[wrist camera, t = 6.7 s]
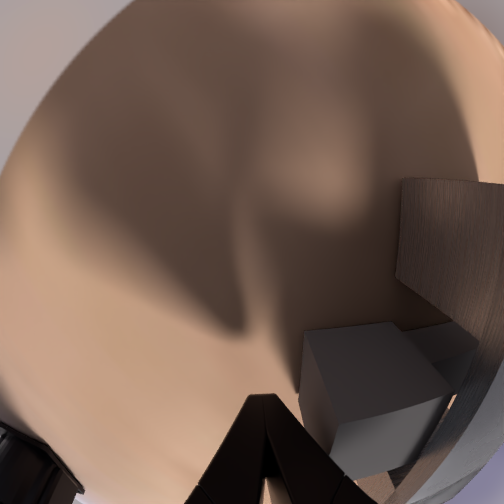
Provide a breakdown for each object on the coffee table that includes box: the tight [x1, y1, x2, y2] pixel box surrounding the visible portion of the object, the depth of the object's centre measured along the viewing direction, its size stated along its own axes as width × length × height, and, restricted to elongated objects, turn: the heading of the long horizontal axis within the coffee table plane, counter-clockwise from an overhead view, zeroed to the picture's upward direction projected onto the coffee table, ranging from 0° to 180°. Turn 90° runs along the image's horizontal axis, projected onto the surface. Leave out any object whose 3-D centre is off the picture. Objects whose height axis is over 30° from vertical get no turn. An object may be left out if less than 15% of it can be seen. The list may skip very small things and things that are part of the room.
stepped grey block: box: [298, 321, 479, 480], centre depth 7 cm, size 11×3×4 cm, turn 92°
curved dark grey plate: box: [357, 178, 504, 504], centre depth 6 cm, size 4×12×5 cm, turn 1°
